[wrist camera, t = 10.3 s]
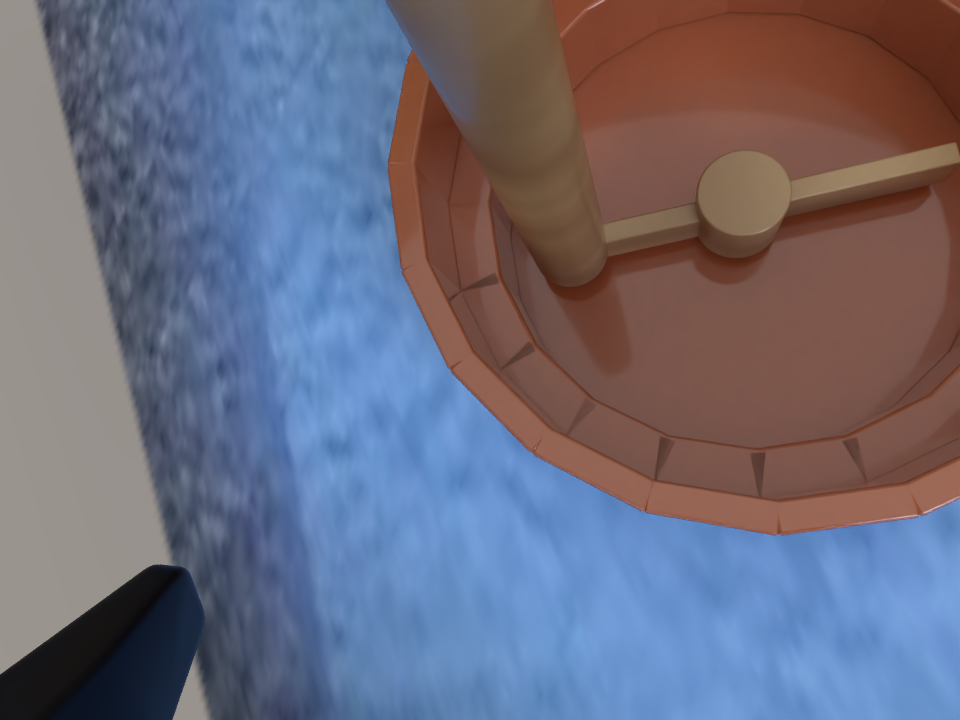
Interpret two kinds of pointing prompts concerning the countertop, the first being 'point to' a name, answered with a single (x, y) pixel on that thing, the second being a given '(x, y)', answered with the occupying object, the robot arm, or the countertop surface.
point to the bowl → (718, 267)
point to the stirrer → (563, 157)
